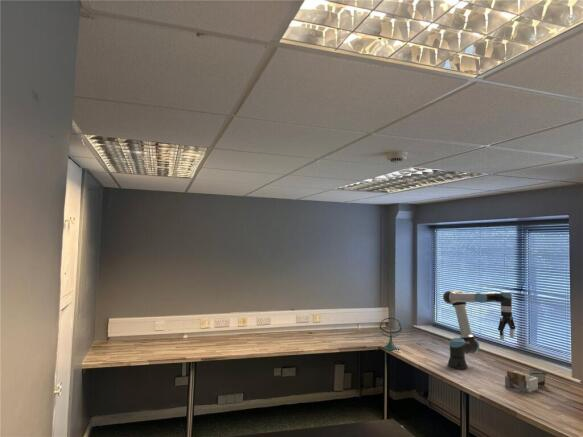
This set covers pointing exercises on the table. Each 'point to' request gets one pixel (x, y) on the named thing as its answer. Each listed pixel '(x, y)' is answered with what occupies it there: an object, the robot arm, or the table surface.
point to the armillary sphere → (390, 345)
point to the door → (516, 377)
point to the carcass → (530, 383)
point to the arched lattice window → (538, 376)
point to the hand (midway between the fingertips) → (506, 338)
